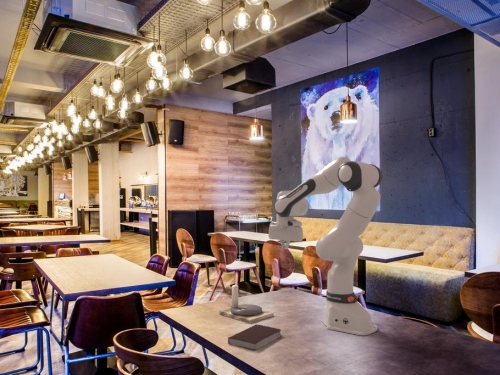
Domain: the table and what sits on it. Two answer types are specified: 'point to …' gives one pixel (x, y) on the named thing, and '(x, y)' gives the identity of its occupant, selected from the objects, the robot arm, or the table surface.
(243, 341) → the book
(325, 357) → the table surface
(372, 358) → the table surface
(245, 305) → the grey post stand
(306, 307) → the table surface
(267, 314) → the plate
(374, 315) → the table surface
